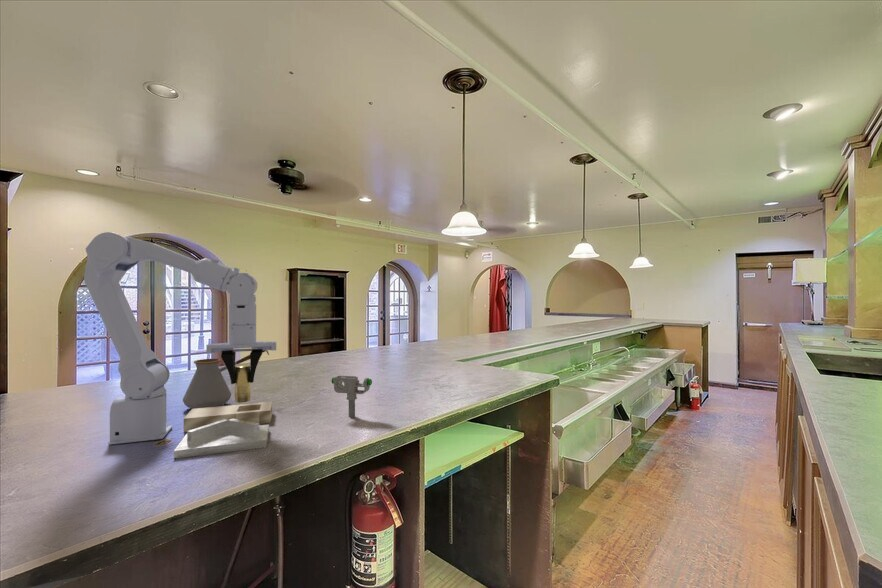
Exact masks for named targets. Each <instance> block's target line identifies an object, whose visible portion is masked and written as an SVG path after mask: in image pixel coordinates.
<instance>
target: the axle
mask: <svg viewBox="0 0 882 588" xmlns="http://www.w3.org/2000/svg"><path fill="white" fill-rule="evenodd" d="M250 369H251V368H250V365H248V364H247V365H246V364H245V365H237V366H236V365H235V384H234V402H235V403H238V404H239V403H240V404H242V403H246V402H250V401H251V383H250Z"/></svg>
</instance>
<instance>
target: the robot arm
mask: <svg viewBox="0 0 882 588" xmlns="http://www.w3.org/2000/svg"><path fill="white" fill-rule="evenodd" d="M85 252H86V255H87V259H86V265H85V271H84V277H83V279H84V283H85V285H86V289H87V290H88V292H89V294H90V297H91V298H92V300H93V303H94V305H95V308H96V309H97V312H98V314H99V315H100V318H101V320H102V322H103V324H104V326H105V329H106V330H107V333H108V335H109V337H110V339H111V342H112V344H113V346H114V348H115V350H116V351H117V353H118V356H119V358H120V359H119V363H118V367H117V370H118V372H119V374H120V381H119V382H120V384H119V386H120V390H121V391H122V394H124V395H125V396H120V397H116V398H114V400H113V401H112V403H111V405H110V409H109V441H108V445H109V446H110V445H119V444H127V443H137V442H146V441H155V440H163V438H164V437H165V436H166V435H167V434H168V433H169V432H171V430H172V429H173V425H167V389H166V388H165V385H166V383H167V382H168V381H169V379H170V369H169V368H168V366H167V365H166V364H165V363H163V362H162V361H161V360H160V358H159V357H158V355H157V353H155V352H154V351H153V350H152V349H151V348H149V345H148V343H147V340H146V338H145V336H144V334H143V331H142V330H141V327H140V325H139V323H138V321H137V319H136V316H135V315H134V312H133V310H132V307H131V306H130V303H129V302H128V299H127V297H126V294H125V292H124V290H123V288H122V286H121V284H120V282H121V280H122V279H123V278H124V277H125V275H126V274H127V272H128V271H129V270H130V269H132V268H133V267H135V266H137V265H138V264H139V263H140V262H144V263H149V262H157V263H161V264H163V265H166V266H169V267H172V268H174V269H178V270H180V271H184V272H186V273H190V274H191V276H192V278H193V280H194V282H196V283H200V284H201V285H205V286H206V287H211V288H212V289H216V290H219V291H221V292H224V293H225V292H226V291H227V292H228V294H229V305H228V342H222V343H220V342H219V343H218V342H217V343H208V344H206V351H205V352H206V354H217V353H221V354H220V357H221V358H220V359H221V361H223V364H224V365H225V366H226V367H227V369H226V370H227V372H228V374H229V378H230V379H229V380H230V384H231V385H235V367H236V365H235V362H236V353H237V352H238V353H240V352H241V353H242V352H250V353H249V355H250V359H249V362H250V365H249V366H250V384H251V383H254V382H255V374H256V370H257V367H258V364H259V361H260V359H261V357H262V355H263V353H264V352H263V350H267V351H277V341H276V340H275V341H257V303H256V301H257V297H256V292H257V290H258V282H257V281H258V280H257V279H256V278H255V277H254V276H253V275H251V274H249V273H246V272H240V268H238V267H234V268H232V267H230V266H228V265H225V264H222V263H219V259H216V258H213V257H211V259H209V258H207V257H205V258H202V259H199V260H195V259H193V258H192V257H188V256H186V255H183V254H181V253H179V252H177V251H174V250H172V249H169V248H166V247H164V246H162V245H159V244H157V243H154V242H151V241H146V240H142V239H138V238H134V237H130V236H123V235H121V234H119V233H116V232H112V231H107V232H106V231H105V232H101V233H99V234H97V235H96V236H94V237H93V238H92V240H91V241H90V242H89V244H88V245H87V246H86V247H85Z"/></svg>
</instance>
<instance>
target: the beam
mask: <svg viewBox="0 0 882 588" xmlns="http://www.w3.org/2000/svg"><path fill="white" fill-rule="evenodd" d="M272 415H273V401H267V402H255V403H254V402H253V403H245V404H244V403H243V404H242V403H240V404H233V405H231V404H230V405H224V406H218V407H207V408H196V409H192V410H191V409H190V411H189V412H188V413H187V414H185V416H184V417H183V433H184V432H185V433H186V432H187V431H189V430H192V429H195V428H199V427H202V426H205V425H208V424H211V423H214V422H217V421H220V420H224V419H225V420H230V419H239V420H244V421H249V422H254V423H259V425H265V424H270V423H271V421H272Z"/></svg>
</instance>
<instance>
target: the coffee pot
mask: <svg viewBox="0 0 882 588" xmlns="http://www.w3.org/2000/svg"><path fill="white" fill-rule="evenodd" d="M265 352H266V353H267V355H268V356H270V354H269V350H263V353H265ZM247 361H250V354H248V355H246V356H244V357H242V358H241V359H238V360H235V366H236V365H239V364H241V363H244V362H247ZM220 362H222V358H203V359H197V360H194V361H193V363H194V364H195V368H196V370H195V373H194V374H193V377H192V378H191V381H190V383H189V385H188V387H187V389H186V391H185V393H184V395H183V397H182V403H184V405H185V406H186V407H187V408H189V409H190V411H191V410H192V409H196V408H207V407H218V406H225V405H226V404H227V403H228V402H229V401H230V399H231V397H232V392H231V390H230V388H229V387H228V384H227V381H226V380H225V378H224V375H223V374H222V372H223V371H225V370H228V369H227V367H226V365H225V366H222V367H220V368H219V365H220Z"/></svg>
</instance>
